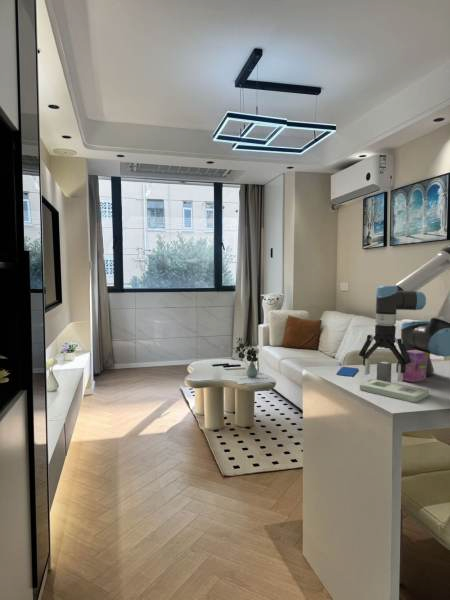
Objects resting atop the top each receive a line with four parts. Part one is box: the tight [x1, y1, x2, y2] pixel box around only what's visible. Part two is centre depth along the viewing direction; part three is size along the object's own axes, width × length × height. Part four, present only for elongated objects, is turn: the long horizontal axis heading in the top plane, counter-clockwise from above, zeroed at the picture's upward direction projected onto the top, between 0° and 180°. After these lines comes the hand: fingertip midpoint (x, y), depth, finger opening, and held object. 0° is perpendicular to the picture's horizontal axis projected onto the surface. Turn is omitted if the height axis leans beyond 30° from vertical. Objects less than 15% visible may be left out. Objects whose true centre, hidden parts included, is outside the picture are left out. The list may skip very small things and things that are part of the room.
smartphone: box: [335, 366, 359, 378], centre depth 174 cm, size 7×1×15 cm
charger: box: [376, 361, 392, 382], centre depth 156 cm, size 4×4×8 cm
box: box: [402, 350, 429, 383], centre depth 160 cm, size 10×6×12 cm, turn 126°
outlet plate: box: [359, 378, 430, 403], centre depth 142 cm, size 12×20×2 cm, turn 42°
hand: (383, 377), depth 156 cm, fingers open, 13 cm apart
